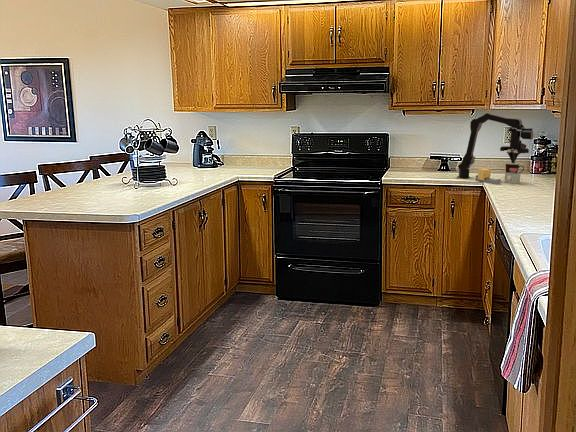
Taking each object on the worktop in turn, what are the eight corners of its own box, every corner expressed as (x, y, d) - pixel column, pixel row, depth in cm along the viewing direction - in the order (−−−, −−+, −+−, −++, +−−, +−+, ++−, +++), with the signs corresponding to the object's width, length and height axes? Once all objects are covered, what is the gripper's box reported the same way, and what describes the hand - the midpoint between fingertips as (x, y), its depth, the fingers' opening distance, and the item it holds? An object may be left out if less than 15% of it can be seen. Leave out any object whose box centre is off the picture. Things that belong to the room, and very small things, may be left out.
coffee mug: (503, 178, 396) (504, 163, 394) (505, 177, 404) (506, 162, 401) (521, 180, 391) (523, 165, 389) (523, 178, 398) (524, 163, 396)
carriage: (477, 179, 385) (478, 169, 383) (484, 178, 387) (485, 168, 386) (483, 180, 380) (484, 170, 379) (489, 179, 383) (490, 169, 381)
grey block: (504, 182, 382) (504, 172, 381) (511, 181, 385) (512, 172, 384) (512, 183, 376) (513, 174, 375) (519, 183, 379) (520, 173, 378)
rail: (475, 180, 388) (475, 175, 388) (478, 179, 390) (479, 175, 389) (496, 184, 372) (497, 179, 371) (500, 184, 373) (500, 179, 372)
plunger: (507, 177, 381) (508, 168, 380) (512, 177, 383) (513, 168, 382) (512, 178, 377) (513, 169, 376) (517, 178, 379) (518, 168, 378)
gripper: (536, 139, 370) (534, 164, 373) (513, 137, 386) (511, 161, 390) (523, 139, 365) (521, 165, 368) (500, 137, 382) (498, 162, 385)
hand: (513, 163), depth 378 cm, fingers closed
